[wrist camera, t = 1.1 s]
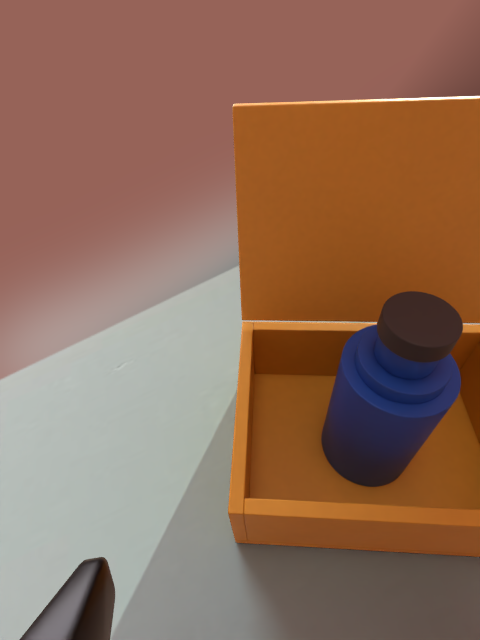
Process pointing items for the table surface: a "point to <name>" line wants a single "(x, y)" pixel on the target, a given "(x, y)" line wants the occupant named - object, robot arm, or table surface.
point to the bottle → (392, 388)
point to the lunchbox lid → (357, 206)
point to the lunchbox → (316, 472)
